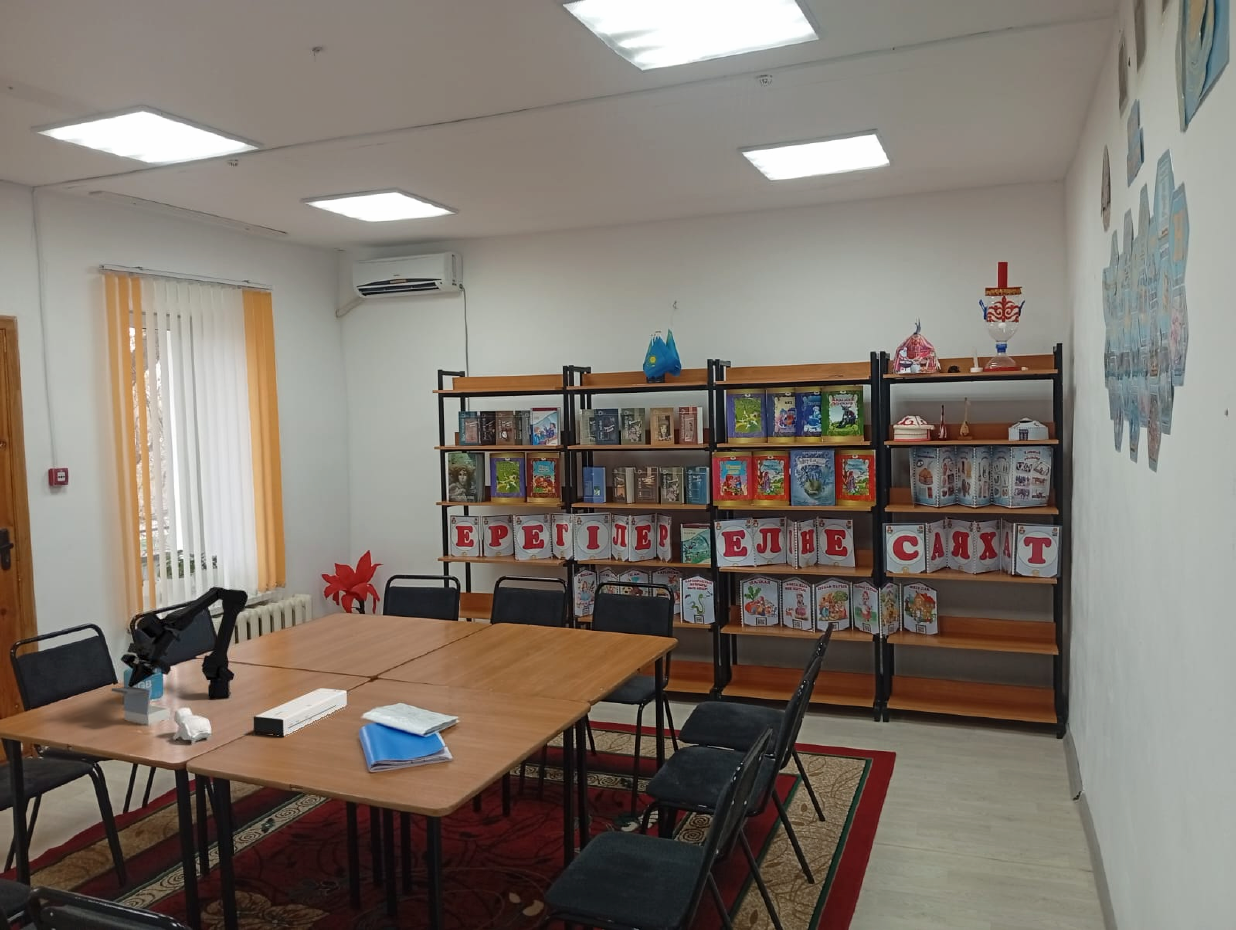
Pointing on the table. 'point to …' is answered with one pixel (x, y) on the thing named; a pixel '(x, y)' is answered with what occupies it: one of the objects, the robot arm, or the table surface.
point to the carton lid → (135, 699)
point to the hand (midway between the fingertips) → (129, 686)
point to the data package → (147, 683)
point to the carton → (149, 715)
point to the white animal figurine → (191, 726)
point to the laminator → (300, 712)
